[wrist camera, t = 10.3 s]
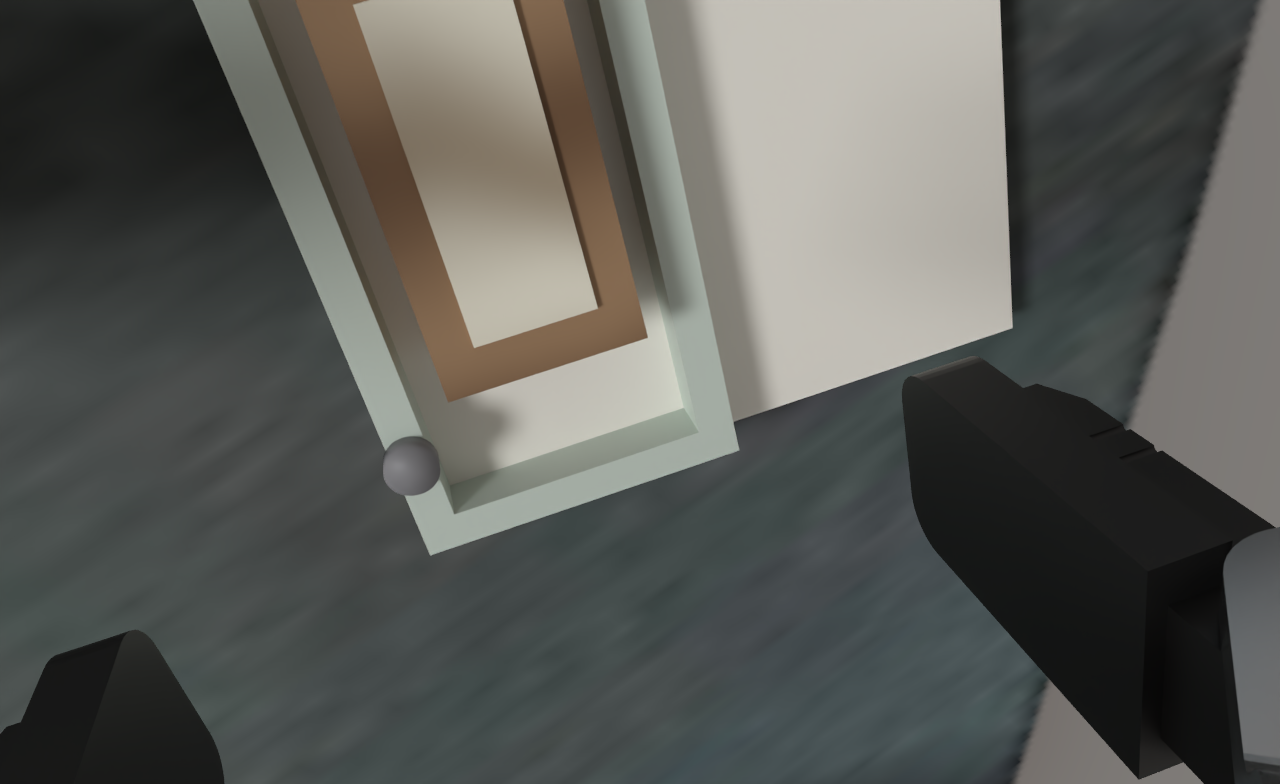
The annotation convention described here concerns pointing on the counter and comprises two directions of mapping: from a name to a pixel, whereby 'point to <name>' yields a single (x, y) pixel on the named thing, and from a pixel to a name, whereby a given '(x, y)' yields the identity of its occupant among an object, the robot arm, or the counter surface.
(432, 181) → the frame
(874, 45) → the wall panel
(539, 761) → the counter surface
